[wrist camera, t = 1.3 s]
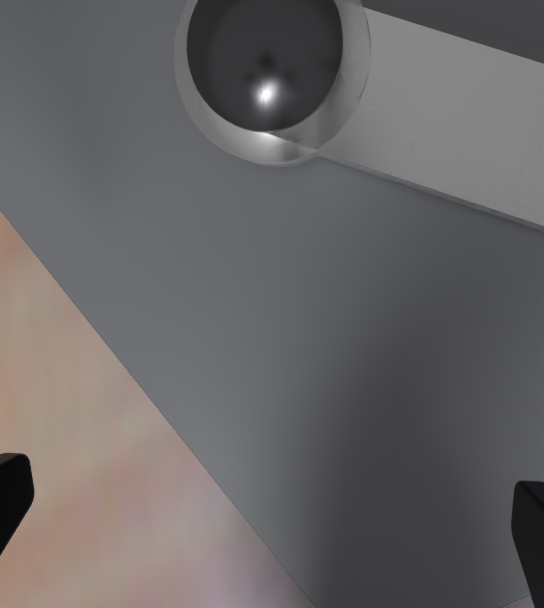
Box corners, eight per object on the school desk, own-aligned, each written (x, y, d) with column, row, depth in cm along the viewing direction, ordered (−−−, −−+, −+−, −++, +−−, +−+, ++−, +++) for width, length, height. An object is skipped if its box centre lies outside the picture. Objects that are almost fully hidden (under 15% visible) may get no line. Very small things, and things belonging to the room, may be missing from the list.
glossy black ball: (372, 69, 10) (375, 59, 9) (255, 164, 11) (248, 162, 10) (284, -61, 10) (279, -84, 9) (169, 45, 10) (156, 33, 10)
